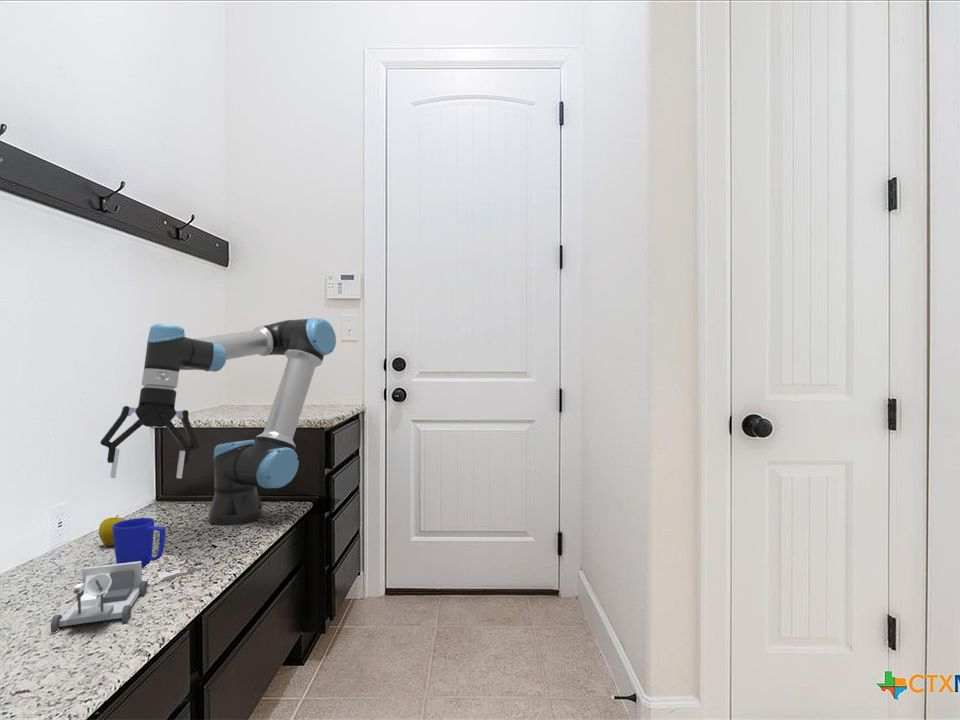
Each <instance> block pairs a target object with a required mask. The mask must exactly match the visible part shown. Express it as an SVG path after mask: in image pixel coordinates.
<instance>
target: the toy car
mask: <svg viewBox="0 0 960 720" xmlns="http://www.w3.org/2000/svg"><path fill="white" fill-rule="evenodd" d="M81 570H82V571H81V573H82V575H81V577H82V582H81V583H77V584H76V585H75V586H74V587H73V595H75V594H76V596H75V597H76V598H75V600H76V601H75V603H73V605H72V606H71V607H70V608H69V609H68V610H67V612H65V613H64V615H63V616H62V614H55V615H54V616H52V618H51V622H50V631H51V633H52V632H56V631H58V629H59V628H60V627H61V626H62V627H65V626H66V627H67V626H72V625H80V624H87V623H96V622H100V621H108V620H116V619H121V622H122V623H123V622H126V623H128V622H129V621H130V619H131V617H132V606H133V604H134V603H135V602H136V600H137V598H138V596H139V597H145V595H146V594H147V592H148V588H147V581H142V571H141V561H138V562H129V563H121V564H117V563H114V564H113V563H112V564H106V565H97V566H89V567H88V566H87V567H86V566H85V567H83V568H82V569H81ZM145 593H146V594H145ZM128 620H129V621H128ZM58 632H59V631H58Z"/></svg>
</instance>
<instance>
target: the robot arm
mask: <svg viewBox="0 0 960 720" xmlns="http://www.w3.org/2000/svg"><path fill="white" fill-rule="evenodd" d="M185 335H186V333H185V329H184V328H183V327H181V326H179V325H175V324H169V323H155V324H153V325H152V326H150V329H149V332H148V337H147V341H146V352H145V358H144V368H143V373H142V379H141V386H142V388H140V391H139V392H140V394H139V401H138V406H137V407H132V406H131V407H130V406H128V405H125V406H122V408H121V412H120V414H119V417H118V418H117V419H116V420H115V421H114V423H113V424H112V425H111V427H110V428H109V429H108V431H107V432H106V434H105V435H104V436H103V437H102V439H101V440H100V442H99V443H100V445H102V446H104V447H106V448H108V452H107V460H106V461H107V463H108V464H111V469H110V478H111V479H116V477H117V472H118V471H117V470H118V461H119V455H120V450H121V449H120V448H117V447H118V446H120V445H121V444H122V443H123V442H124V441H125V440H127V438H129V437H130V436H131V435H133V433H134V432H136V431H137V430H138V429H139V428H141V427H142V426H144V427H147V428H148V427H149V428H151V427H155V428H164V427H165V428H166V429H167V430H168V431H169V432H170V434H171V435H172V436H173V438H174V439H175V440H176V442H177V443H178V445H179V446H180V447H181V448H182V449H183V450H179V454H178V462H177V469H176V476H175V477H176V479H182V478H183V471H184V465H188V464H189V462H190V461H189V460H190V452H191V451H193V450H196V449H198V448H199V447H200V444H199V442H198V440H197V437H196V435H195V432H194V430H193V427H192V425H191V422H190V419H189V411H188V410H185V409H182V410H176V408H175V406H176V399H177V391H176V390H175V389H177V388H178V383H179V373H180V371H205V372H213V373H215V372H218V371H221V370H222V369H223V367H225V364H226V362H227V361H228V360H234V359H239V358H243V357H250V356H255V355H259V356H261V357H266V356H285V357H286V358H287V362H286V364H285V368H284V370H283V374H282V376H281V379H280V382H279V386H278V387H277V391H276V395H275V396H274V399H273V403H272V405H271V406H272V407H271V408H270V412H269V415H268V417H267V421H266V423H265V427H264V430H263V432H261V433H260V434H258V435H256V436H255V438H254V439H249V440H248V439H247V440H239V441H233V442H226V443H219V444H217V445H216V446H215V447H214V450H213V458H212V460H213V474H214V476H213V479H214V480H213V481H214V496H213V499H212V502H211V505H210V508H209V512H208V522H209V523H210V522H211V523H210V524H213V523H214V524H213V525H237V524H243V523H247V522H252V521H255V520H258V519H260V518H262V517H263V515H264V507H263V504H262V501H261V498H260V496H259V493H258V491H257V487H259V488H264V489H279V488H282V487H285V486H286V485H288V484H289V483H290V482H292V481H293V479H294V478H295V476H296V475H297V472H298V469H299V465H300V463H299V462H300V461H299V460H298V458H299V456H298V454H297V452H296V451H295V450H296V444H295V442H294V437H295V436H294V435H295V433H296V429H297V426H298V423H299V421H300V418H301V417H300V416H301V414H302V411H303V408H304V405H305V401H306V398H307V395H308V391H309V389H310V385H311V382H312V380H313V376H314V373H315V369H316V368H317V367H319V366H321V365H322V363H323V360H324V357H325V356H328V355H330V354H331V353H333V352H334V350H335V348H336V344H337V338H336V337H337V336H336V333H335V330H334V327H333V326H332V325H331V323H330V322H329V321H328V320H326V319H324V318H315V317H309V318H303V319H302V318H301V319H286V320H282V321H281V320H280V321H278V322H275V323H270V324H266V325H265V324H264V325H260V326H256V327H255V328H254V329H253V330H247V331H246V330H245V331H241V332H232V333H225V334H219V335H211V336H205V337H197V338H190V337H187V336H185ZM133 414H135V415H136V416H137V418H138V419H137V420H136V421H135V422H134V423H133V424H132V425H130V427H128V428H127V429H126V430H125V431H124V432H122V433H121V434H120V435H118V437H116V438H115V439H114V440H113V441H111V439H112V438H113V437H114V436H115V434H116V433H117V431H118V430H119V429H120V428H121V426H122V424H124V422H125V421H126V420H127V418H128V417H131V416H132V415H133ZM175 416H177V418H178V419H179V420H181V424H182V427H183V428H184V431H185V434H186V437H187V439H188V440H189V443H188V442H187V441H186V439H185V437H183V435H182V434H181V433H180V432H179V430H178V429H177V428H176V426H175V425H174V423H173V422H172V420H173V419H174V418H175Z"/></svg>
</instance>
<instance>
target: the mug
mask: <svg viewBox="0 0 960 720" xmlns="http://www.w3.org/2000/svg"><path fill="white" fill-rule="evenodd" d="M154 531H158V532H159V541H158V549H157V553H156V557H155V556H153V549H154V548H153V544H154ZM113 536H114V545H113V546H114V552H115V553H114V554H115V562H116V563H115V564H121V563H129V562H138V561H141V567H143V566H146V565H147V564H149V563H150V561H155V560H157V559H159V558H160V557H161V556H162V554H164V550H165V549H164V548H165V541H166V527H165V526H164V527H163V526H158V525H155V519H154V518H152V517H136V518H130V519H125V520H124V521H121V522H118V523H116V524H114V525H113Z"/></svg>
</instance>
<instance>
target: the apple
mask: <svg viewBox="0 0 960 720" xmlns="http://www.w3.org/2000/svg"><path fill="white" fill-rule="evenodd" d="M118 516H119V514H117V515H116V516H115V517H108V518H106V519H104V520H102V521H101V523H100V525H99V528H98V536H99V538H100V540H101V542H102V544H104V546H106V547H112V546H115V545H114V536H113V525H114V524H116V523H118V522H121V521H124V520H126V519H125V518H123V517H118Z"/></svg>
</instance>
